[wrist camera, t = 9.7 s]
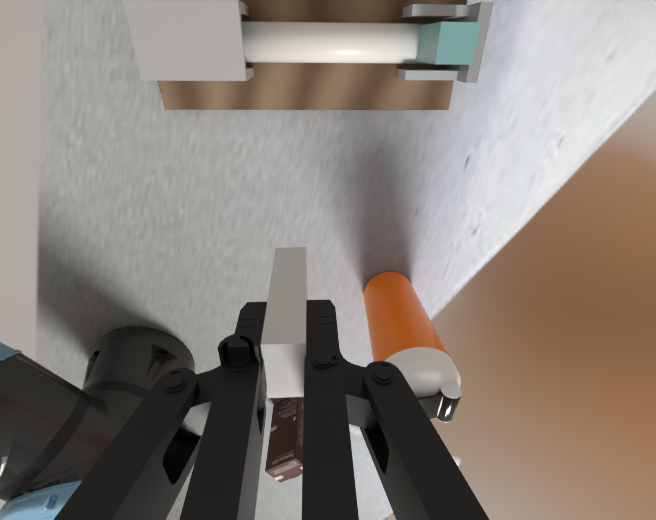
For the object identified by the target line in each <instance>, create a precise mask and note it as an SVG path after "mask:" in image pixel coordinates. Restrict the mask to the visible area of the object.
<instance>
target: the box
mask: <svg viewBox="0 0 656 520" xmlns="http://www.w3.org/2000/svg"><path fill="white" fill-rule="evenodd" d="M303 415H304V397H290V398H288V399H286V400H284V401H282V402H280V403H277V404H275V405H274V406H273V414H272V422H271V430H270V438H269V446H268V454H267V461H266V468H265V472H267V473H268V474H269V475H271V476H272V477H274V478H275V479H276V480H278V481H279V482H283V481H285V480H288V479H291V478H295V477H297V476H299V475H301V474H303Z"/></svg>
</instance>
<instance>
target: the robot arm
mask: <svg viewBox="0 0 656 520" xmlns="http://www.w3.org/2000/svg"><path fill="white" fill-rule="evenodd" d="M218 352H219V357H220V361H221V365H220V366H219V367H217V368H215V369H213V370H210V371H207V372H204V373H200V374H197V375H196V374H195V372H194V368H195V366H194V360H193V357H192V355H191V353H190V352H189V351H188V349H187V348H186V347H185V346H184V345H183V344H182V343H181V342H179V341H178V340H177V339H175V338H174V337H172V336H170V335H168V334H166V333H163V332H161V331H158V330H154V329H150V328H144V327H126V328H121V329H117V330H114V331H112V332H110V333H108V334H106V335H105V336H104V337H103V338H102V339H101V340H100V341H99V342H98V344H97V345H96V347H95V348H94V350H93V351H92V353H91V355H90V357H89V361H88V366H87V370H86V375H85V379H84V384H83V388H82V390H80V389H79V388H77V387H76V386H74V385H72V384H71V383H69V382H67V381H66V380H64V379H62V378H61V377H59V376H57V375H56V374H54V373H53V372H51V371H49V370H48V369H46V368H45V367H43V366H41V365H40V364H38V363H37V362H35V361H33V360H32V359H30V358H28V357H27V356H25V355H24V354H22V352H21V351H20V350H14V349H12V348H10V347H8V346H7V345H5V344H3V343H1V342H0V499H2V500H4V501H6V503H5V504H4V506H3V507H2V508H1V510H0V520H166V518H167V516H168V514H169V512H170V510H171V508H172V506H173V504H174V502H175V500H176V498H177V496H178V494H179V492H180V490H181V488H182V486H183V484H184V482H185V481H186V479H187V477H188V475H189V473H190V471H191V469H192V467H193V465H194V468H193V472H192V475H191V479H190V483H189V487H188V490H187V494H186V498H185V501H184V505H183V509H182V513H181V516H180V520H254V517H255V508H256V499H257V490H258V481H259V472H260V463H261V454H262V445H263V436H264V427H265V418H266V406H265V399H266V392H267V398H284V397H304V415H303V479H302V520H359V517H358V508H357V498H356V488H355V479H354V469H353V460H352V450H351V441H350V431H349V424H351V425H355V426H358V427H360V430H361V432H362V435H363V437H364V440H365V442H366V445H367V447H368V450H369V452H370V455H371V457H372V460H373V462H374V465H375V467H376V470H377V472H378V475H379V477H380V480H381V482H382V485H383V487H384V490H385V492H386V495H387V497H388V500H389V502H390V505H391V507H392V510H393V512H394V515H395V517H396V520H489V518H488V517H487V515H486V513H485V512H484V510H483V508H482V507H481V505H480V503H479V502H478V500H477V498H476V497H475V495H474V493H473V492H472V490H471V488H470V487H469V485H468V483H467V481H466V480H465V478H464V477H463V475H462V473H461V471H460V470H459V468H458V466H457V465H456V463H455V461H454V460H453V458H452V456H451V455H450V453H449V452H448V450H447V448H446V446H445V445H444V443H443V441H442V439H441V438H440V436H439V434H438V433H437V431H436V429H435V428H434V426H433V424H432V423H431V421H430V419H429V418H428V416H427V414H426V413H425V411H424V409H423V407H422V406H421V404H420V402H419V401H418V399H417V397H416V396H415V394H414V392H413V391H412V389H411V387H410V386H409V384H408V382H407V381H406V379H405V377H404V376H403V374H402V372H401V371H400V370H399V369H398V367H397V366H395V365H394V364H392V363H390V362H386V361H375V362H372V363H370V364H368V366H367V367H366V368H365V367H361V366H357V365H354V364H351V363H350V362H348V361H346V360H345V359H344V358H343V356H342V355H341V353H340V349H339V340H338V330H337V321H336V311H335V306H334V305H333V304H332V302H331V301H330V300H308V284H307V247H297V248H276V251H275V257H274V263H273V270H272V276H271V282H270V288H269V295H268V301H267V302H247V303H246V305H245V306H244V307H243V308H242V309H241V310H240V314H239V318H238V322H237V327H236V330H235V334H233V335H231V336H228V337H226V338H225V339H224V340H223V341H221V342H220V344H219V346H218ZM194 463H195V464H194Z"/></svg>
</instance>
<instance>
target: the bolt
mask: <svg viewBox="0 0 656 520" xmlns="http://www.w3.org/2000/svg"><path fill="white" fill-rule="evenodd" d="M479 27H480V22H437V23H432V24H404V23H325V22H245V21H242V31H243V41H244V51H245V61H246V62H267V63H404V64H452V65H472V64H473V58H474V53H475V48H476V43H477V38H478V33H479Z"/></svg>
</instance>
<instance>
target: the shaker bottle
mask: <svg viewBox="0 0 656 520" xmlns="http://www.w3.org/2000/svg"><path fill="white" fill-rule="evenodd" d="M364 300H365V307H366V314H367V321H368V327H369V334H370V341H371V348H372V355H373V361H374V362H375V361H386V362H390V363H392V364H394V365H395V366H397V367H398V369H399V370H400V371H401V372H402V374H403V376H404V377H405V379H406V381H407V382H408V384H409V386H410V387H411V389H412V391H413V392H414V394H415V396H416V397H417V399H418V401H419V402H420V404H421V406H422V407H423V409H424V411H425V413H426V414H427V416H428V418H429V419H432V418H436V419H438V420H439V421H441V422H444V423H447V422H450V421H451V420H452V419H453V417H454V414H455V411H456V408H457V405H458V403H459V399H460V397H461V389H460V383H461V380H460V375H459V373H458V371H457V368H456V366H455V363H454V361H453V359H452V358H451V357H450V356H449V354H447V352H446V350H445V349H444V346H443V345H442V343H441V341H440V339H439V337H438V335H437V333H436V331H435V329H434V327H433V325H432V323H431V322H430V320H429V318H428V316H427V314H426V312H425V310H424V308H423V306H422V304H421V302H420V300H419V299H418V297H417V295H416V293H415V291H414V289H413V287H412V285H411V283H410V281H409V280H408V279H407V278H406V277H405V276H404V275H402V274H400V273H397V272H384V273H380V274H378V275H376V276H374V277H373V278H372V279H370V280H369V282H368V283H367V284H366V286H365V289H364Z"/></svg>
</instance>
